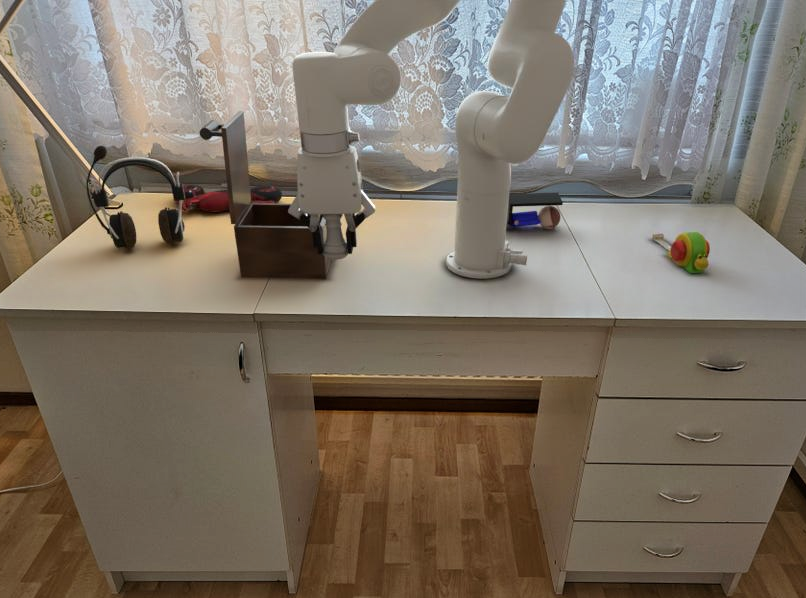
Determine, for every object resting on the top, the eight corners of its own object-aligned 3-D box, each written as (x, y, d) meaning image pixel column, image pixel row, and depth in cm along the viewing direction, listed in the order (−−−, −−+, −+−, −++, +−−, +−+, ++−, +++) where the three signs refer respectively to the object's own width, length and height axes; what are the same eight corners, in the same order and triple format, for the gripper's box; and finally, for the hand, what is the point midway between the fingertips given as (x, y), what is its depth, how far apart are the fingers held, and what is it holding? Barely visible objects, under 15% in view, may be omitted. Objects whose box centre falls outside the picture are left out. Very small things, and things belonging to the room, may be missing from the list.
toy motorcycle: (180, 201, 158) (156, 214, 143) (178, 179, 156) (153, 190, 141) (285, 206, 159) (272, 219, 144) (284, 184, 157) (271, 195, 142)
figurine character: (494, 239, 143) (563, 232, 142) (492, 205, 139) (563, 198, 138) (490, 227, 149) (557, 221, 148) (489, 195, 144) (557, 188, 144)
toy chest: (333, 251, 132) (331, 204, 126) (326, 279, 121) (322, 228, 116) (255, 250, 131) (249, 202, 126) (241, 277, 121) (233, 226, 115)
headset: (100, 258, 126) (72, 153, 116) (103, 243, 132) (76, 142, 122) (194, 248, 131) (175, 146, 121) (192, 234, 137) (174, 136, 127)
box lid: (243, 111, 117) (213, 109, 117) (225, 128, 106) (192, 126, 106) (251, 200, 126) (222, 199, 126) (235, 224, 115) (204, 222, 115)
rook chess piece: (350, 259, 110) (346, 213, 106) (323, 261, 110) (318, 215, 105) (348, 248, 114) (345, 204, 109) (322, 250, 113) (318, 206, 109)
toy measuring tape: (685, 278, 125) (693, 246, 121) (642, 239, 141) (648, 209, 137) (716, 277, 126) (725, 244, 122) (670, 238, 142) (677, 208, 138)
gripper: (381, 134, 104) (386, 241, 114) (275, 135, 104) (289, 242, 114) (378, 147, 98) (384, 259, 108) (266, 148, 98) (282, 260, 108)
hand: (335, 249), depth 111 cm, fingers closed on rook chess piece, 4 cm apart
